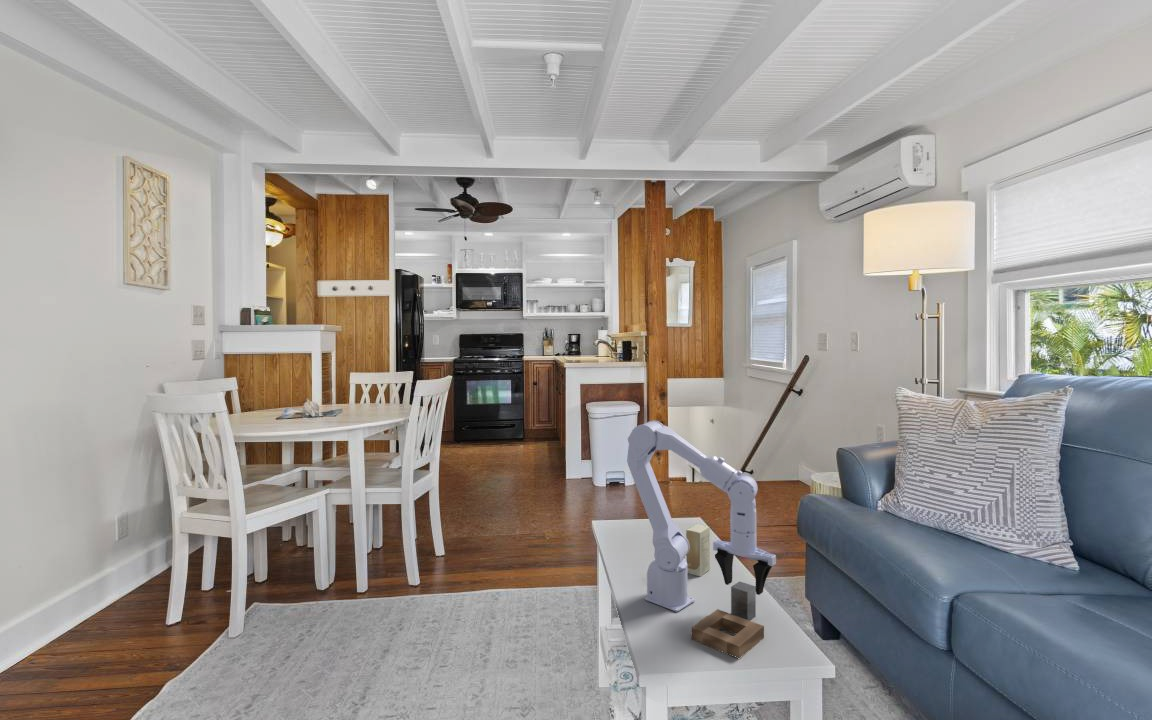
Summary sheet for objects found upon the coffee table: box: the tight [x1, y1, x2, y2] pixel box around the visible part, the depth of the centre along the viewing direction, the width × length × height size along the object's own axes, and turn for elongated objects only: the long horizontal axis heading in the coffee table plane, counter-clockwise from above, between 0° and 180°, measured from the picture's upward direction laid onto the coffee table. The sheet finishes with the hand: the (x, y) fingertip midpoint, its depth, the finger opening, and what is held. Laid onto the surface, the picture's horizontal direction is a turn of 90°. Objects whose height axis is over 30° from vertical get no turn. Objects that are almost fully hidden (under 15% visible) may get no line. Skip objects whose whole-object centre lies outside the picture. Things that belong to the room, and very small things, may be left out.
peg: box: [730, 581, 757, 621], centre depth 125 cm, size 4×4×7 cm
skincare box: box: [685, 523, 711, 577], centre depth 151 cm, size 6×4×12 cm
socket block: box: [690, 608, 765, 659], centre depth 116 cm, size 11×11×2 cm
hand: (743, 588), depth 125 cm, fingers open, 7 cm apart
